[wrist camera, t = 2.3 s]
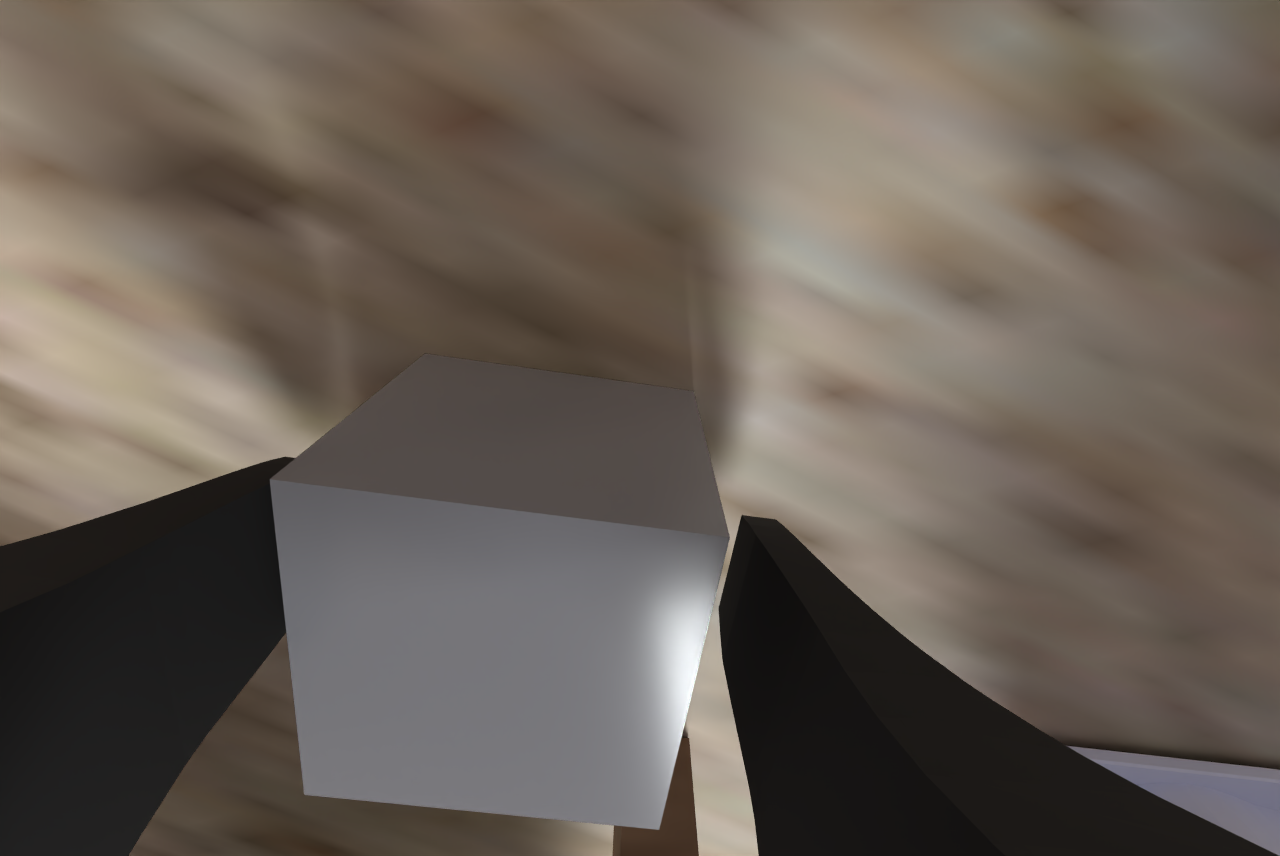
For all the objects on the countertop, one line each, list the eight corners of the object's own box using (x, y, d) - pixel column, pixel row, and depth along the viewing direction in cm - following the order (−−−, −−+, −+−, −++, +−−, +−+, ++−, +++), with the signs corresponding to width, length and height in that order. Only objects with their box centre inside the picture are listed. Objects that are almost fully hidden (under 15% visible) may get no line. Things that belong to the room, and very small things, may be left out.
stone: (693, 389, 11) (729, 537, 7) (653, 600, 13) (659, 829, 9) (426, 352, 11) (269, 479, 6) (425, 573, 13) (304, 795, 8)
